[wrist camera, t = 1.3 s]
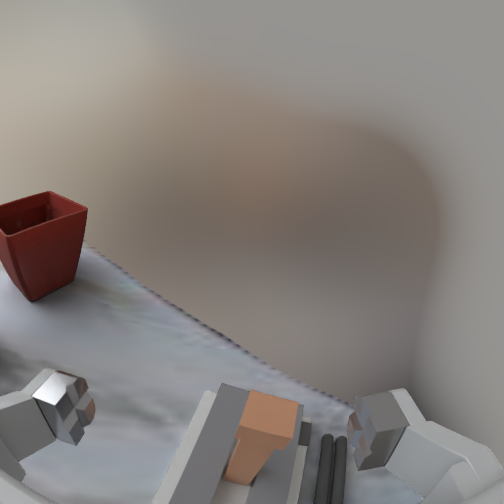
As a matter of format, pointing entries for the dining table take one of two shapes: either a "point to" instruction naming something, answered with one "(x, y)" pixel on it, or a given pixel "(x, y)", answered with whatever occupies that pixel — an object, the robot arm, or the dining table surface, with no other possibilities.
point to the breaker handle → (260, 435)
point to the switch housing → (220, 452)
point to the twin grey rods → (325, 469)
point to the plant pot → (41, 242)
